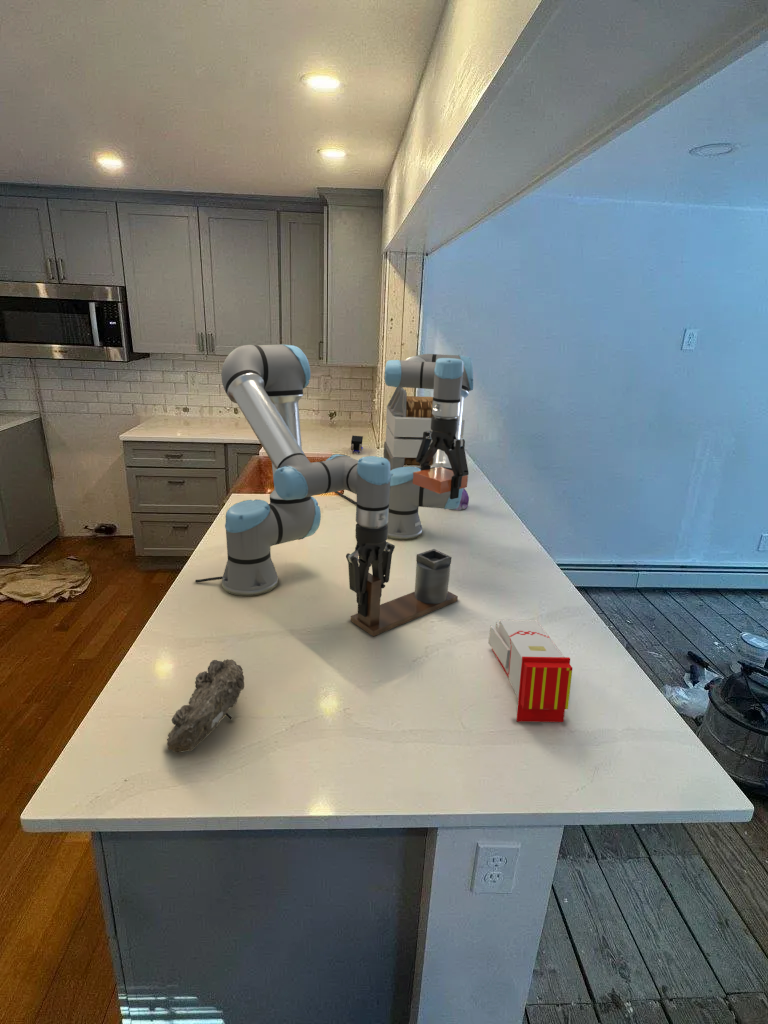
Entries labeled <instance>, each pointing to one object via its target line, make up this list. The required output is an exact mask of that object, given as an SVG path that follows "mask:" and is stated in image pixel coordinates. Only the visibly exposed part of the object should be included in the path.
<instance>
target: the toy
mask: <svg viewBox="0 0 768 1024" xmlns="http://www.w3.org/2000/svg"><path fill="white" fill-rule="evenodd" d="M488 646H490V648H491V651H492V653H493V655H494V656H495V658H496V660H497V661H498V663H499V665H500V666H501V668H502V670H503V672H504V673H505V676H506V678H508V681H509V683H510V685H511V687H512V689H513V692H514V694H515V695H516V697H517V708H516V709H517V710H516V722H519V723H520V722H521V723H522V722H523V723H525V722H526V723H564V720H565V712H566V710H569V704H570V703H569V702H570V695H571V685H572V677H573V667H572V665H571V658H570V657H568V656H567V657H566V656H564V654H563V653H562V652H561V650H560V649H559V648H558V646H557V645H556V644H555V642H554V641H553V640H552V638H551V637H550V636H549V634H548V633H547V631H546V630H545V629H544V626H543V625H541V624H540V622H539V620H536V619H535V620H531V619H528V620H527V619H499V620H498V622H495V626H494V625H490V627H489V635H488Z"/></svg>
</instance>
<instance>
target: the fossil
mask: <svg viewBox="0 0 768 1024" xmlns="http://www.w3.org/2000/svg"><path fill="white" fill-rule="evenodd" d="M243 670H244V669H243V667H242V665H240V664H237V662H236V661H235V660H234V659H232V658H231V659H227V658H226V659H224V660H223V661H222V660H217V659H212V660H211V661H210V663H209V665H208V666H207V671H201V672H199V673H198V674H197V675H196V676H195V680H194V684H195V685H194V687H195V689H194V690H193V693H192V694H191V697H190V698H189V700H188V704H184V705H182V706H181V707H180V709H177V710H176V711H175V713H174V715H173V716H172V718H171V723H172V724H173V727H172V730H171V731H170V732H168V734H167V738H166V741H167V742H166V745H167V749H168V750H169V751H173V752H174V753H176V754H178V753H182V752H188V751H189V752H192V751H193V750H195V748H196V747H197V746H199V744H200V743H201V742H203V741H204V740H205V739H206V738H207V737H208V736H209V735H210V734H211V733H212V732H214V730H215V729H217V727H218V726H219V724H220V722H221V721H222V720H223V719H224V718H225V716H226V717H227V719H229V720H233V717H232V715H230V714H229V710H230V709H231V708H234V706H235V704H236V703H237V702H238V699H239V697H240V695H241V693H242V691H243V690H245V689H244V688H245V675H244V671H243Z"/></svg>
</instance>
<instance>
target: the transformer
mask: <svg viewBox="0 0 768 1024" xmlns="http://www.w3.org/2000/svg"><path fill="white" fill-rule="evenodd" d="M407 394H408V393H407V390H406V389H404V387H395V390H394V392H393V394H392V395H391V398H390V400H389V402H388V404H387V405H386V413H385V414H386V415H385V423H386V428H385V438H384V442H383V458H385V459H387V460H388V461H389V462H390V471H391V470H393V469H396V468H400V467H405V466H406V467H417V466H418V467H421V465H420V463H419V462H416V458H417V455H418V452H419V449H420V446H421V443H422V440H423V432H425V431H432V430H431V418H432V417H433V416H434V415H433V414H432V404H433V396H415V395H414V396H413V395H412V396H411V395H407ZM464 429H465V419H464V418H462V424H461V435H460V440H461V439H464V431H465V430H464ZM431 443H432V440H431ZM431 443H430V444H431ZM429 448H430V447H429ZM433 458H434V456H433ZM433 458H432V459H431V461H430V463H429V466H431V465H432V464H433ZM427 466H428V465H427Z"/></svg>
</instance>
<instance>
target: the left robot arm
mask: <svg viewBox="0 0 768 1024" xmlns="http://www.w3.org/2000/svg"><path fill="white" fill-rule="evenodd" d="M220 375H221V376H220V377H221V385H222V387H223V390H224V392H225V394H226V395H227V397H228V399H229V400H230V402H232V403H234V404H237V406H238V407H239V409H240V411H241V413H242V414H243V416H244V418H245V420H246V422H247V423H248V425H249V426H250V428H251V429H252V431H253V433H254V435H255V436H256V438H257V440H258V441H259V443H260V445H261V446H262V448H263V450H264V452H265V453H266V455H267V457H268V458H269V460H270V461H271V466H272V467H271V469H272V479H273V491H272V492H271V493H270V494H269V495H268V497H269V502H267V501H266V500H263V499H246V500H243V501H239V502H236V503H234V504H233V505H231V506H230V507H229V508H228V509H227V511H226V513H225V523H224V529H225V538H226V539H225V541H226V555H227V561H226V564H225V567H224V571H223V573H222V576H215V577H214V576H213V577H207V578H200V579H195V581H194V582H195V583H204V582H209V581H210V582H211V581H219V580H221V584H222V589H223V590H224V591H225V592H227V593H228V594H232V595H235V596H241V597H253V596H258V595H263V594H266V593H269V592H270V591H272V590H274V589H275V588H276V587H277V586H278V584H279V577H278V576H279V575H278V573H277V570H276V567H275V564H274V562H273V560H272V557H271V547H273V546H276V545H282V544H285V543H289V542H294V541H297V540H298V541H300V540H303V539H306V538H308V537H311V536H313V535H315V534H316V532H317V531H318V530H319V528H320V524H321V520H322V516H321V508H320V507H321V506H319V502H318V501H317V499H316V498H315V496H318V495H324V494H330V493H335V492H336V491H337V492H340V491H348V492H350V493H352V494H355V495H356V501H355V502H356V504H355V505H356V507H355V522H356V524H355V540H356V545H355V548H354V551H353V552H351V553H346V555H345V559H346V560H347V565H348V582H349V585H348V586H349V590H351V591H352V592H354V593H355V594H356V600H355V601H356V603H357V613H359V614H361V615H362V616H364V617H367V610H368V592H367V591H366V585H367V579H368V573H370V567H371V572H372V573H371V574H372V575H374V576H376V577H377V578H379V579H381V595H380V599H381V598H382V592H383V590H382V589H385V587H386V584H387V583H389V581H390V574H391V568H392V567H391V566H392V557H393V553H394V551H395V547H396V545H395V544H392V543H390V542H388V541H387V540H388V538H387V536H388V525H387V523H388V513H389V494H390V480H391V475H390V462H389V461H388V460H387V459H385V458H384V456H376V455H368V456H367V455H366V456H362V457H360V458H359V459H356V458H353V457H351V456H349V455H346V454H340V453H335V454H332V455H331V456H329V457H327V458H326V460H322V461H314V462H313V461H312V462H311V461H310V459H309V458H308V457H307V455H306V454H305V452H304V451H303V447H302V446H303V445H302V433H301V420H300V407H299V401H300V400H301V399H302V397H303V396H304V389H305V388H306V387H308V385H309V384H310V380H311V375H312V374H311V367H310V362H309V360H308V357H307V355H306V353H304V352H303V350H302V349H301V348H300V347H298V346H296V345H291V344H283V343H281V344H245V345H240V346H238V347H236V348H234V349H233V350H232V351H230V353H228V355H227V356H226V358H225V360H224V361H223V364H222V368H221V374H220ZM385 583H386V584H385Z"/></svg>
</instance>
